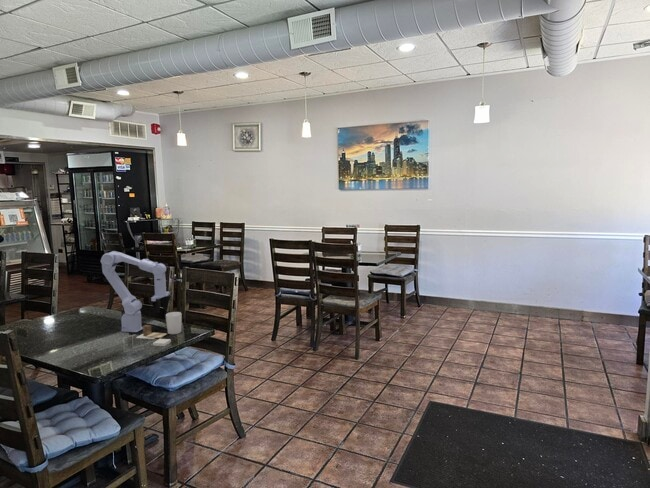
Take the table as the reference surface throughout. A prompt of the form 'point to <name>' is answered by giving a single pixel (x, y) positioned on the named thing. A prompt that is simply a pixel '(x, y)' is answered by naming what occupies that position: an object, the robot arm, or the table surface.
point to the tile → (161, 342)
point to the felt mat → (143, 337)
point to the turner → (151, 335)
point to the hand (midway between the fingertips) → (161, 311)
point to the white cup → (174, 322)
